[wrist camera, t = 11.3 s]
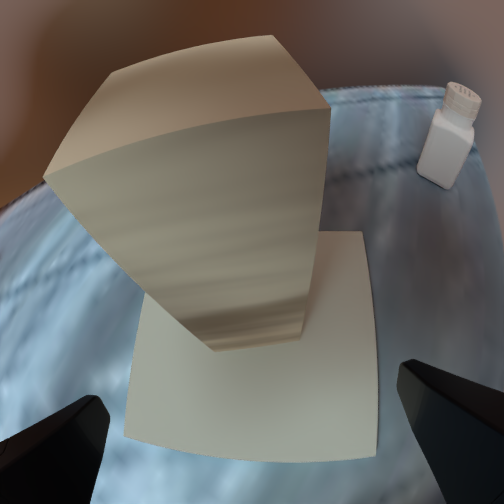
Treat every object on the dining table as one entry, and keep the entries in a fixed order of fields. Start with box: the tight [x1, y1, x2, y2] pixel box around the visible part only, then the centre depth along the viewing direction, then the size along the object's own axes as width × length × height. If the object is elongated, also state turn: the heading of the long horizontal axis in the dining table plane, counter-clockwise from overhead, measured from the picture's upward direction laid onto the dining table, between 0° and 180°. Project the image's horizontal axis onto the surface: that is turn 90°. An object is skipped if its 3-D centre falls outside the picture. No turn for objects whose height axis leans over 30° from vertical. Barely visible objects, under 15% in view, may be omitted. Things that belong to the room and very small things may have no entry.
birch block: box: [43, 35, 331, 352], centre depth 11 cm, size 5×5×14 cm
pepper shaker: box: [417, 82, 482, 190], centre depth 18 cm, size 4×4×10 cm
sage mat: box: [124, 231, 378, 462], centre depth 16 cm, size 15×15×1 cm
